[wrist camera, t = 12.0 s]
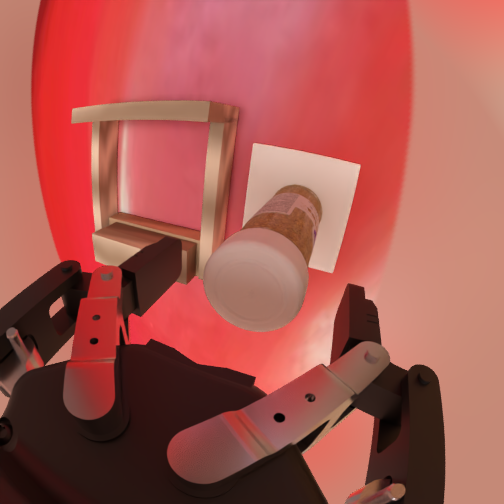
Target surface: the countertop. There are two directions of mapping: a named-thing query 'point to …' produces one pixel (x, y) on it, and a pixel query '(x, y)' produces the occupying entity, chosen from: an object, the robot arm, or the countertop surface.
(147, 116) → the frame
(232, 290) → the sprinkles bottle
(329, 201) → the cream mat
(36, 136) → the countertop surface
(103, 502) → the robot arm
